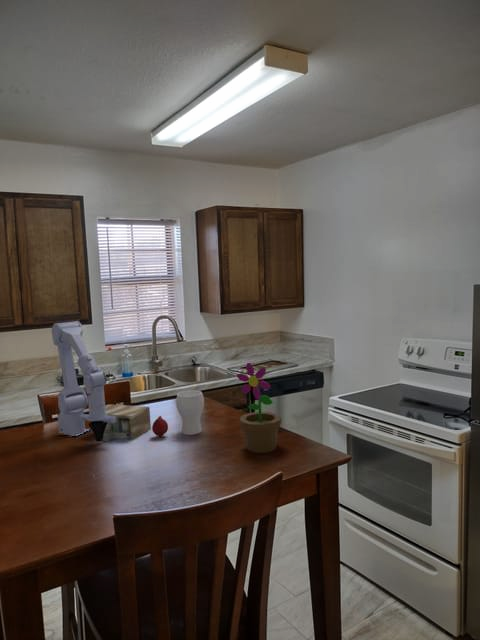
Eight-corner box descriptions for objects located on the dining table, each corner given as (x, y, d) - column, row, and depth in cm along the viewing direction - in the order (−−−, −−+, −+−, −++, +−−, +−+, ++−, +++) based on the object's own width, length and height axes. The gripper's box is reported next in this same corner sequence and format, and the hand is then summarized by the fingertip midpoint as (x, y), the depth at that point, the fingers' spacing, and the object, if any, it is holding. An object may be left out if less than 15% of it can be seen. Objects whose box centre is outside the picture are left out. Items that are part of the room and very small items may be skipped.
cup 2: (204, 435, 170) (202, 396, 168) (175, 436, 170) (173, 397, 169) (206, 426, 180) (204, 389, 179) (180, 427, 180) (177, 390, 179)
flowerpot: (233, 451, 153) (228, 363, 150) (252, 437, 166) (248, 356, 163) (272, 457, 146) (268, 365, 143) (288, 442, 159) (285, 357, 156)
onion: (160, 440, 167) (158, 419, 166) (149, 437, 170) (148, 417, 169) (171, 435, 171) (170, 415, 171) (161, 433, 175) (159, 412, 174)
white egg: (120, 433, 176) (119, 421, 175) (126, 430, 178) (125, 419, 178) (127, 434, 174) (126, 422, 174) (133, 431, 177) (132, 420, 177)
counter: (91, 435, 176) (89, 413, 175) (110, 425, 187) (109, 404, 186) (133, 439, 169) (132, 416, 168) (150, 429, 180) (149, 406, 179)
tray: (88, 439, 172) (87, 422, 171) (109, 428, 184) (108, 412, 184) (120, 442, 167) (119, 424, 166) (139, 430, 180) (138, 414, 179)
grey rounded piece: (103, 432, 177) (102, 421, 177) (105, 429, 181) (104, 418, 180) (111, 432, 177) (111, 420, 177) (114, 429, 181) (113, 418, 180)
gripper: (73, 406, 164) (76, 442, 166) (106, 408, 159) (109, 446, 161) (85, 401, 171) (88, 436, 172) (118, 403, 166) (121, 439, 167)
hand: (99, 440), depth 167 cm, fingers closed
